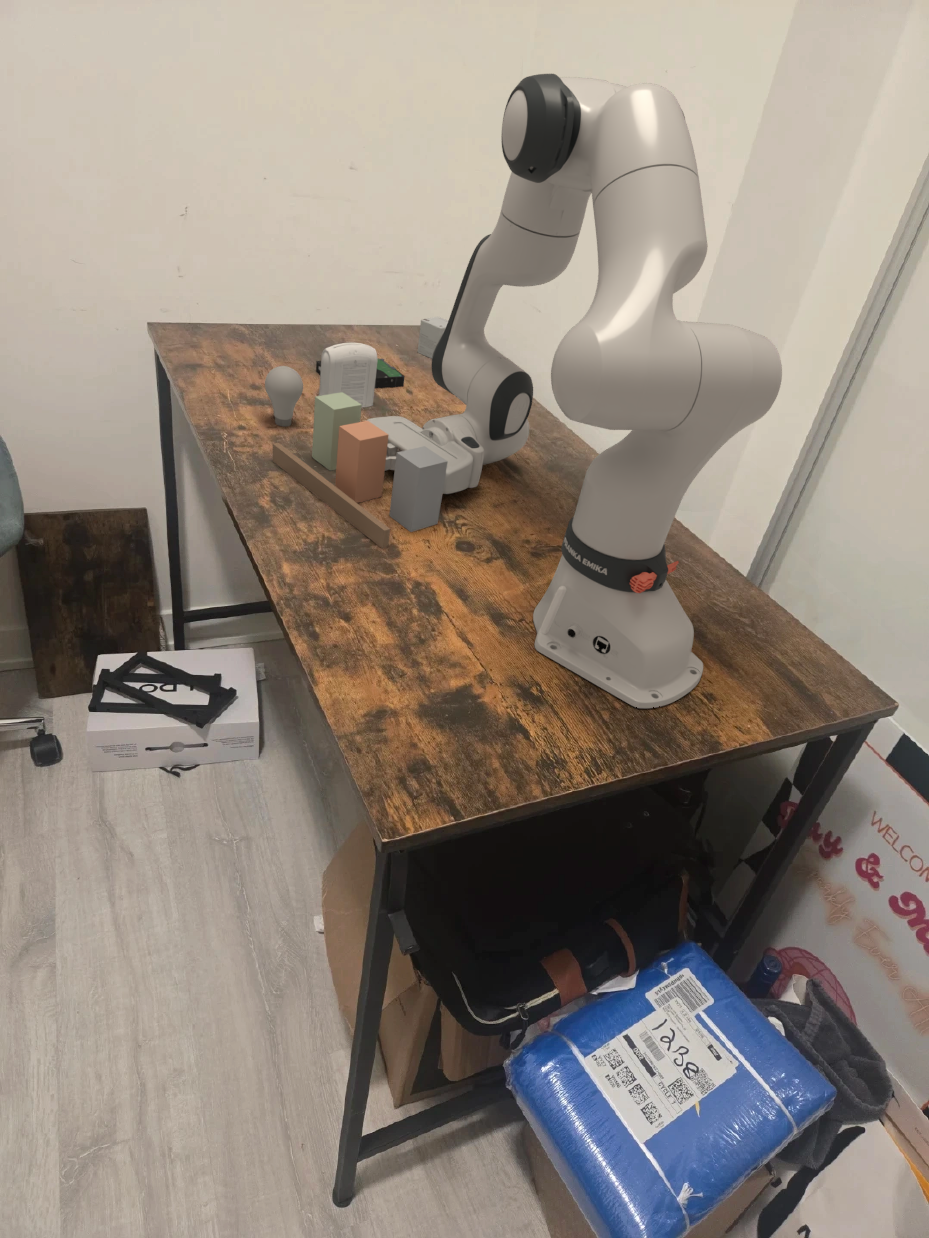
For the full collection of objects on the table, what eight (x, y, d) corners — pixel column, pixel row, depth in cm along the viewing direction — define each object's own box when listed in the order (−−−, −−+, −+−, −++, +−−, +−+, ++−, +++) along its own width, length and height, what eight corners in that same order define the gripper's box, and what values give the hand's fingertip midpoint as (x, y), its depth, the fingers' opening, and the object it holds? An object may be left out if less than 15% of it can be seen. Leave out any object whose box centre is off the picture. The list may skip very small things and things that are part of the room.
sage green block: (356, 464, 125) (361, 404, 119) (330, 470, 122) (334, 409, 116) (338, 451, 128) (342, 392, 122) (311, 457, 125) (315, 396, 119)
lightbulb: (287, 420, 137) (289, 358, 131) (308, 434, 134) (311, 371, 127) (257, 426, 133) (257, 363, 127) (277, 441, 130) (279, 376, 124)
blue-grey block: (437, 523, 114) (447, 461, 108) (410, 532, 111) (419, 468, 105) (415, 508, 117) (424, 446, 111) (389, 515, 114) (396, 452, 108)
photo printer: (365, 403, 148) (370, 338, 141) (375, 413, 146) (382, 346, 138) (314, 408, 143) (318, 340, 136) (324, 418, 140) (329, 349, 133)
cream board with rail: (475, 526, 118) (480, 501, 116) (373, 559, 107) (376, 533, 104) (364, 448, 133) (366, 425, 131) (264, 470, 122) (265, 445, 119)
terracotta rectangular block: (381, 496, 118) (388, 434, 112) (354, 503, 115) (360, 440, 109) (362, 481, 121) (367, 420, 115) (334, 488, 118) (339, 426, 112)
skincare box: (454, 357, 177) (459, 324, 173) (436, 362, 173) (441, 328, 169) (434, 348, 180) (438, 315, 175) (416, 352, 176) (420, 319, 171)
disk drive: (336, 395, 151) (404, 388, 159) (337, 380, 149) (405, 375, 157) (314, 374, 158) (380, 369, 165) (315, 360, 156) (381, 356, 163)
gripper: (406, 401, 129) (336, 414, 120) (491, 454, 118) (420, 472, 110) (402, 437, 133) (333, 452, 124) (484, 491, 122) (415, 511, 113)
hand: (375, 462), depth 117 cm, fingers closed, pressing on terracotta rectangular block
